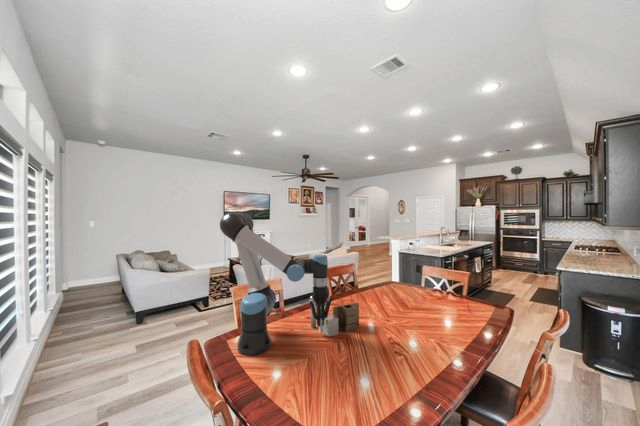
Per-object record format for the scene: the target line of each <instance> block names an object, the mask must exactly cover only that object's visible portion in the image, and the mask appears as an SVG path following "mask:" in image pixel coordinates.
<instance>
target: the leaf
mask: <svg viewBox="0 0 640 426" xmlns="http://www.w3.org/2000/svg"><path fill="white" fill-rule="evenodd" d="M341 321H342V322H344V323H345V324H346V325H348V324H352V323H357V315H351V316H345V315H343V314H342V313H341V305H335V306H332V314H328V317H327V318H325V320H324V325H323V326H322V333H324V335H325V336H327V337H331V336H336V335H337V336H338V335H339V330H342V329H341Z"/></svg>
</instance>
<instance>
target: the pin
mask: <svg viewBox="0 0 640 426" xmlns="http://www.w3.org/2000/svg"><path fill="white" fill-rule="evenodd" d="M312 296H313V295H310V296H309V300H311V299H312ZM314 307H315V311H316V303H315V301H314ZM310 321H311V322H310V328H311V329H316V328H317V319H315V318H313V314H312V310H311V309H310Z"/></svg>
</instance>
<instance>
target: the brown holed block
mask: <svg viewBox="0 0 640 426" xmlns="http://www.w3.org/2000/svg"><path fill="white" fill-rule="evenodd" d="M359 304H360V303H359V302H353V303H348V304H343V305H342V304H341V305H340V306H341V313H342V314H343V315H345V316H351V315H357V323H352V324H348V325H346V324H345V323H344V322H342V321H341V329H340V330H343V332H345V333H349V332H354V331H357V326H360V305H359Z"/></svg>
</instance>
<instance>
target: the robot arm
mask: <svg viewBox="0 0 640 426" xmlns="http://www.w3.org/2000/svg"><path fill="white" fill-rule="evenodd" d="M253 220H254V219H252V217H251V216H250V215H249V214H248V213H245V212H229V213H228V212H227V213H226V214H224V215H223V216H222V217H221V219H220V221H219V229H220V231H221V233H222V234H223V235H225V237H227V238H228V239H230V240H231V242H232V243H234V244H235V245H236V248H237V251H238V254H239V258H240V262H241V264H242V268H243V270H244V271H243V272H244V274H245V278H246V281H247V283H248V290H247V295H245V296H244V297H243V298H242V299H241V302H240V319H241V321H240V323H241V325H240V328H241V331H240V332H241V333H240V336H239V339H238V341H237V351H238V353H240V354H242V355H245V356H254V355H260V354H263V353H265V352H266V351H268V350H270V348H271V346H272V340H271V339H272V338H271V337H270V334H269V330H268V315H269V314H270V312H271V310H273V308H274V307H275V304H276V301H277V296H276V293H275V290H273V289H272V288H271V285H270V283H268V282H267V281H266V279H265V275H264V273H263V268H262V266H261V262H260V260H259V257H260V258H261V259H264V261H266V262H268V263H269V264H271V265H272V266H274V267H275V268H276V269H278V270H279V271H280V272H282V273H284V274H285V275H286V277H287V279H288V280H289V281H291V282H299V281H301V280H302V279H303V278H304V276H305V275H308V274H309V275H312V295H311V296H312V299H309V300H308V301H307V303H308V304H309V305H310V311H311V310H312V314H313V318H315V319H316V327H318V332H319V333H320V334H323V325H324V320H325V318H327V317H328V315H329V313H330V307H331V303H332V301H333V298H331V296H330V297H329V293H328V289H329V288H328V284H329V283H328V278H329V277H328V275H329V274H328V273H329V272H328V271H329V269H328V267H329V263H328V256H327V254H326V255H325V254H314V255H313V256H312V258H298V257H296V258H292V257H290V256H289V255H288V254H287V253H285V252H284V251H282V250H281V249H279V248H278V247H276V246H275V245H274V244H272V243H270V242H269V241H267V240H266V239H264V238H263V237H261V236H260V235H259V234H257V233H256V232H254V221H253ZM314 301H315V303H316V311H315V307H314Z"/></svg>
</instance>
